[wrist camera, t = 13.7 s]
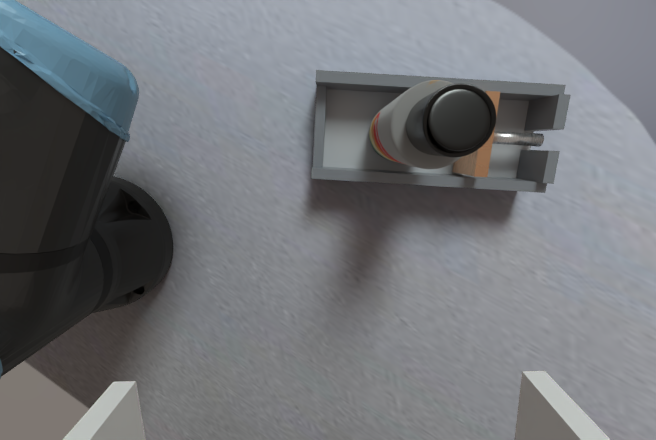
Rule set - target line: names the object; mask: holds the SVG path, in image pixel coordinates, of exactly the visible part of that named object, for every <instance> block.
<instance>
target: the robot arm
mask: <svg viewBox="0 0 656 440" xmlns="http://www.w3.org/2000/svg"><path fill="white" fill-rule="evenodd" d="M138 97H139V88H138V84H137V81H136V79H135V78H134V76H133V74H132V73H131V72H130V71H129V70H128V68H127V67H125V66H124V65H123V64H121V63H120V62H118V61H116V60H115V59H113V58H111V57H110V56H108V55H106V54H105V53H103V52H101V51H100V50H98V49H96V48H95V47H93V46H91V45H89V44H88V43H86V42H84V41H83V40H81V39H79V38H78V37H76V36H74V35H73V34H71V33H69V32H68V31H66V30H64V29H63V28H61V27H59V26H58V25H56V24H54V23H52V22H51V21H49V20H47V19H46V18H44V17H42V16H41V15H39V14H37V13H36V12H34V11H32V10H31V9H29V8H27V7H26V6H24V5H22V4H21V3H19V2H17V1H15V0H0V378H1V376H3V375H4V374H6V373H7V372H8V371H10V370H11V369H13V368H14V367H16V366H17V365H18V364H20V363H21V362H23V361H24V360H26V359H27V358H28V357H30V356H31V355H33V354H34V353H35V352H37V351H38V350H40V349H41V348H43V347H44V346H45V345H47V344H48V343H50V342H51V341H53V340H54V339H55V338H57V337H58V336H60V335H61V334H63V333H64V332H65V331H67V330H68V329H70V328H71V327H73V326H74V325H75V324H77V323H78V322H80V321H81V320H83V319H84V318H85V317H87V316H88V315H90V314H91V313H95V312H99V311H104V310H108V309H112V308H117V307H121V306H124V305H127V304H130V303H132V302H134V301H136V300H138V299H140V298H141V297H143V296H144V295H145V294H147V293H148V292H149V291H150V290H152V289H153V288H154V287H155V286H156V285H158V283H159V282H160V281H161V280H162V279H163V277H164V276H165V274H166V272H167V270H168V268H169V266H170V263H171V259H172V252H173V240H172V234H171V229H170V226H169V223H168V221H167V219H166V217H165V215H164V213H163V211H162V210H161V208H160V207H159V205H158V204H157V203H156V202H155V201H154V199H153V198H152V197H151V196H150V195H148V194H147V193H146V192H145V191H144V190H142V189H141V188H139V187H138V186H136V185H134V184H133V183H130V182H128V181H126V180H124V179H121V178H117V177H113V175H114V172H115V169H116V167H117V164H118V161H119V158H120V156H121V153H122V150H123V148H124V145H125V142H129V139H130V134H129V132H128V131H129V128H130V124H131V121H132V118H133V115H134V111H135V108H136V105H137V101H138ZM63 440H146V439H145V433H144V427H143V421H142V415H141V408H140V402H139V396H138V390H137V384H136V381H121V382H113V383H112V384H111V385H110V386H109V387H108V388H107V390H106V391H105V392H104V393H103V394H102V395H101V396H100V398H99V399H98V400H97V401H96V402H95V403H94V404H93V406H92V407H91V408H90V409H89V410H88V411H87V412H86V414H85V415H84V416H83V417H82V418H81V419H80V420H79V421H78V423H77V424H76V425H75V426H74V427H73V428H72V430H71V431H70V432H69V433H68V434H67V435H66V436H65V437H64V439H63ZM515 440H610V439H609V438H608V437H607V435H606V434H605V433H604V432H603V431H602V430H601V429H600V428H599V427H598V426H597V425H596V424H595V423H594V422H593V421H592V420H591V419H590V418H589V417H588V416H587V415H586V414H585V412H584V411H583V410H582V409H581V408H580V407H579V406H578V405H577V404H576V403H575V402H574V401H573V400H572V399H571V398H570V397H569V396H568V395H567V394H566V393H565V392H564V391H563V389H562V388H561V387H560V386H559V385H558V384H557V383H556V382H555V381H554V380H553V379H552V378H551V377H550V376H549V375H548V374H547V373H546V372H545V371H522V379H521V388H520V397H519V405H518V414H517V423H516V432H515Z"/></svg>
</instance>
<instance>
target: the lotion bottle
mask: <svg viewBox="0 0 656 440" xmlns="http://www.w3.org/2000/svg"><path fill="white" fill-rule="evenodd" d="M495 124H496V109H495V106H494V104H493V101H492V100H491V98H490V97H489V96H488V95H487V94H486V93H485V92H484V91H483V90H481V89H480V88H478V87H476V86H473V85H470V84H465V83H456V84H453V83H451V82H448V81H443V80H430V81H425V82H422V83H419V84H417V85H415V86H413V87H411V88H410V89H408V90H407V91H405V92H404V93H403V94H401V95H400V96H399V97H397V98H396V99H395V100H393V101H392V102H391V103H389V104H388V105H387V106H385V107H384V108H383V109H381V110H380V111H379V112H378V113H377V114H376V115H375V117H374V118H373V120H372V122H371V124H370V128H369V140H370V143H371V146H372V148H373V149H374V150H375V152H376V153H377V154H378V155H380V156H381V157H383V158H385V159H388V160H391V161H394V162H398V163H402V164H406V165H409V166H413V167H417V168H422V169H438V168H443V167H446V166H448V165H450V164H452V163H454V162H456V161H457V160H459V159H460V158H461V157H463V156H466V155H469V154H471V153H473V152H475V151H477V150H478V149H479V148H481V147H482V146H483V145H484V144H485V143H486V142H487V141H488V139H489V138H490V136H491V135H492V133H493V131H494V128H495Z"/></svg>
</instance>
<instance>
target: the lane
mask: <svg viewBox="0 0 656 440" xmlns="http://www.w3.org/2000/svg"><path fill="white" fill-rule="evenodd" d="M430 80H443V81H448V82H451V83H453V84H456V83H465V84H470V85H473V86H476V87H478V88H480V89H481V90H483V91H484V92H485V91H497V92H500V98H499V105H498V111H497V118H496V124H495V131H502V132H518V133H533V131H546V130H560V129H564V126H565V121H566V115H567V110H568V105H569V100H570V95H564V90H565V85H557V84H541V83H524V82H507V81H490V80H473V79H456V78H439V77H422V76H406V75H389V74H372V73H355V72H338V71H321V70H316V84H317V90H316V110H315V131H314V151H313V167H312V169H311V179H326V180H342V181H359V182H375V183H392V184H409V185H425V186H442V187H458V188H475V189H492V190H508V191H525V192H541V193H545V191H546V186H547V183H551V184H553V183H554V178H555V173H556V167H557V162H558V157H559V152H560V151H538V150H530V149H531V146H524V145H507V144H492V150H491V157H490V163H489V170H488V177H474V176H470V175H465V174H460V173H456V172H452V171H453V163H452V164H450V165H448V166H446V167H443V168H438V169H422V168H417V167H413V166H409V165H406V164H402V163H398V162H394V161H391V160H388V159H385V158H383V157H381V156H380V155H378V154H377V153H376V152H375V150H374V149H373V148H372V146H371V143H370V140H369V128H370V124H371V122H372V120H373V118H374V117H375V115H376V114H377V113H378V112H379V111H380V110H381V109H383V108H384V107H385V106H387V105H388V104H389V103H391V102H392V101H393V100H395V99H396V98H397V97H399V96H400V95H401V94H403V93H404V92H405V91H407V90H408V89H410V88H411V87H413V86H415V85H417V84H419V83H422V82H425V81H430Z"/></svg>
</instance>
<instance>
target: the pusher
mask: <svg viewBox="0 0 656 440" xmlns="http://www.w3.org/2000/svg"><path fill="white" fill-rule="evenodd" d="M485 93H486V94H487V95H488V96H489V97H490V98H491V100H492V101H493V104H494V106H495V109H496V118H497V111H498V105H499V98H500V92H497V91H485ZM543 141H544V136H543V134H535V133H518V132H502V131H495V128H494V131H493V133H492V135H491V136H490V138H489V139H488V141H487V142H486V143H485V144H484V145H483V146H482V147H481V148H479V149H478V150H477V151H475V152H473V153H471V154H469V155H466V156H463V157H461V158H460V159H459V160H457V161H456V162H454V163H453V171H452V172H456V173H460V174H465V175H470V176H474V177H488V170H489V163H490V157H491V150H492V144H507V145H524V146H541V145H542V143H543Z"/></svg>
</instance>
